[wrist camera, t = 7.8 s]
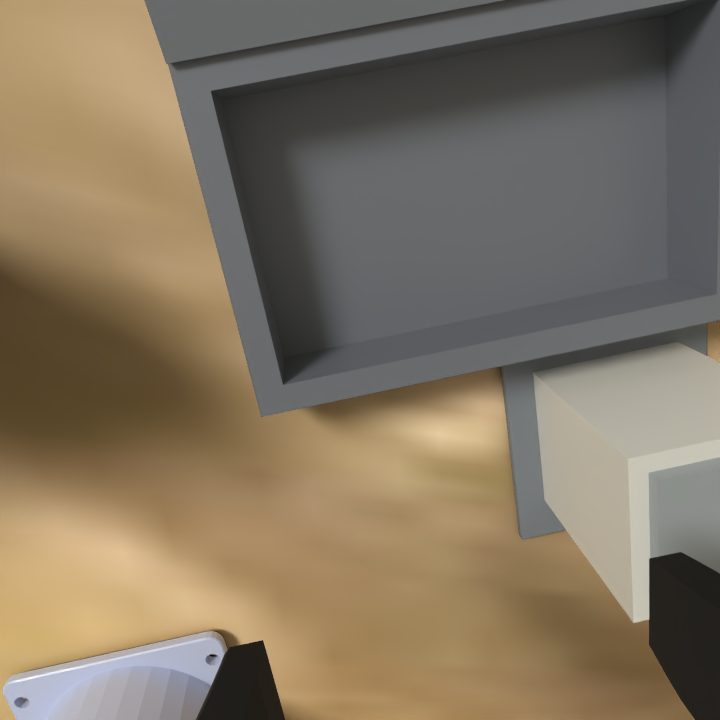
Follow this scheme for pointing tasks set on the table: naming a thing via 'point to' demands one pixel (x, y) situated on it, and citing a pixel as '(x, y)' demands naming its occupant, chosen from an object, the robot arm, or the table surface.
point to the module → (634, 461)
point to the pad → (524, 425)
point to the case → (449, 179)
